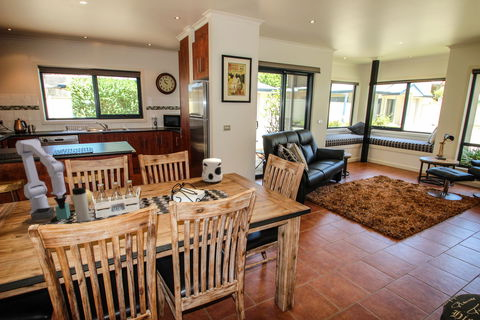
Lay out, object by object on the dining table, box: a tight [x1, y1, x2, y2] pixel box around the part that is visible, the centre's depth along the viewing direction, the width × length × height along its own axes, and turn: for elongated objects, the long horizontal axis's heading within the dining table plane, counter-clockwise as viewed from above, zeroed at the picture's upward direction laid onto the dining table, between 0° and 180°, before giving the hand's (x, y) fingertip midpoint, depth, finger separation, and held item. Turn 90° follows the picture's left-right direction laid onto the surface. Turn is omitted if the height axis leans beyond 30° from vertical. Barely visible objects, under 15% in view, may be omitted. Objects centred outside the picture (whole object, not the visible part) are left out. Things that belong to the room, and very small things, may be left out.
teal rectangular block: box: [54, 202, 71, 221], centre depth 146 cm, size 5×5×8 cm
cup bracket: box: [28, 206, 56, 221], centre depth 146 cm, size 10×10×3 cm
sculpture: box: [70, 188, 94, 205], centre depth 165 cm, size 12×12×11 cm
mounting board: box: [26, 213, 57, 225], centre depth 147 cm, size 13×11×1 cm
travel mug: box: [71, 186, 91, 224], centre depth 141 cm, size 6×7×20 cm
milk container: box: [201, 157, 224, 184], centre depth 214 cm, size 17×17×18 cm
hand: (62, 206), depth 145 cm, fingers open, 7 cm apart
